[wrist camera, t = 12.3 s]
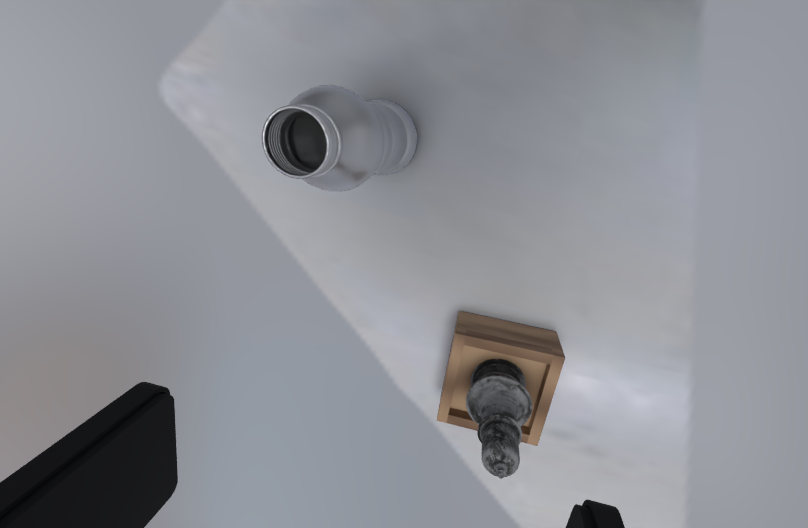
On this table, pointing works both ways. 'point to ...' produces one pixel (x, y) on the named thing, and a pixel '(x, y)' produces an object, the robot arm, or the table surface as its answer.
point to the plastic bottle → (338, 138)
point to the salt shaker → (499, 413)
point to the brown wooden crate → (505, 341)
